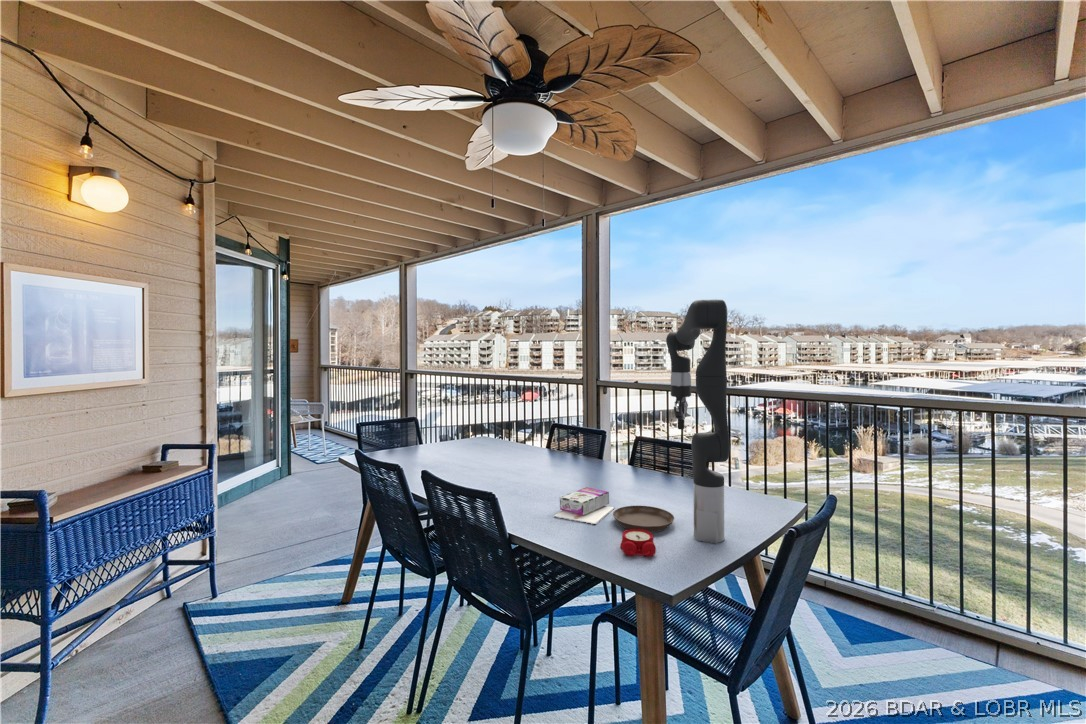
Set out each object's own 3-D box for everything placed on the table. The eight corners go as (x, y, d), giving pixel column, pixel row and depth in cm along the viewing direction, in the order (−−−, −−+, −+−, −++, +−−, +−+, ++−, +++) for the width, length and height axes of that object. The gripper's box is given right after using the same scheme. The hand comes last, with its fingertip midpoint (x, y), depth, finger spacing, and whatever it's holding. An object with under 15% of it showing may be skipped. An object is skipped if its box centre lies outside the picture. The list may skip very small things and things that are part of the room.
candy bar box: (587, 499, 186) (559, 510, 174) (586, 486, 186) (558, 496, 174) (610, 504, 178) (582, 516, 167) (609, 491, 178) (582, 502, 167)
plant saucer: (648, 510, 175) (648, 501, 175) (687, 528, 156) (687, 518, 156) (601, 519, 166) (601, 510, 166) (637, 540, 148) (637, 530, 147)
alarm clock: (652, 528, 148) (658, 536, 133) (653, 549, 146) (659, 560, 132) (619, 527, 149) (621, 535, 134) (619, 548, 148) (622, 558, 133)
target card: (595, 525, 160) (595, 523, 160) (554, 517, 168) (554, 515, 168) (614, 508, 176) (614, 507, 176) (575, 502, 184) (575, 500, 184)
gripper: (675, 382, 187) (675, 425, 187) (666, 385, 175) (666, 431, 176) (694, 383, 183) (694, 427, 183) (687, 385, 171) (687, 432, 172)
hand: (681, 429), depth 180 cm, fingers closed
